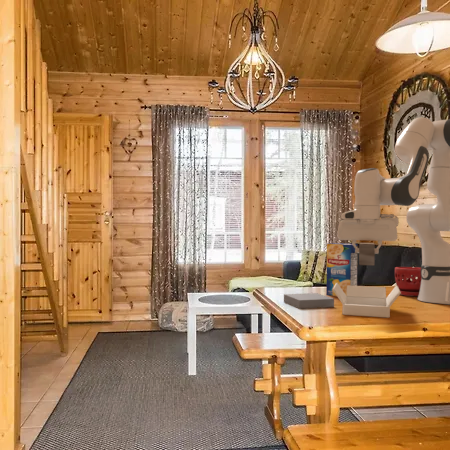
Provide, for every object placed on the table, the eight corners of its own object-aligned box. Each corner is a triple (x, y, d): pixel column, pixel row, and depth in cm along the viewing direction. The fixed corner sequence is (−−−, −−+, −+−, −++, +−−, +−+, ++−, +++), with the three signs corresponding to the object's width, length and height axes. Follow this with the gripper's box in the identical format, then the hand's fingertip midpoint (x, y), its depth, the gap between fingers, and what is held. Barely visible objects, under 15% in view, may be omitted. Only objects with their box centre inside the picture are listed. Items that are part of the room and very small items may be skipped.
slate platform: (316, 300, 187) (316, 293, 187) (333, 306, 174) (334, 298, 174) (283, 301, 183) (283, 294, 183) (299, 308, 170) (299, 300, 170)
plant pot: (433, 296, 200) (434, 268, 200) (409, 298, 195) (409, 269, 195) (411, 292, 212) (411, 265, 212) (387, 293, 208) (388, 266, 207)
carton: (336, 303, 181) (336, 281, 181) (396, 307, 174) (397, 284, 174) (332, 313, 160) (332, 288, 160) (400, 318, 154) (401, 292, 154)
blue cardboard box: (350, 297, 195) (351, 244, 195) (326, 294, 202) (326, 243, 202) (357, 295, 201) (357, 244, 200) (333, 292, 208) (333, 243, 207)
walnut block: (359, 262, 172) (359, 242, 172) (373, 262, 171) (374, 243, 171) (359, 265, 161) (359, 244, 161) (374, 265, 159) (374, 244, 159)
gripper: (397, 214, 166) (397, 253, 166) (338, 214, 172) (338, 252, 172) (399, 214, 160) (398, 254, 160) (337, 214, 166) (336, 253, 166)
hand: (366, 253), depth 166 cm, fingers closed on walnut block, 5 cm apart
